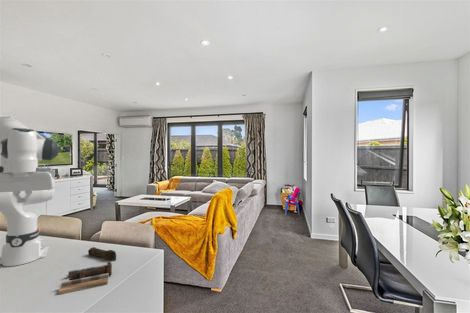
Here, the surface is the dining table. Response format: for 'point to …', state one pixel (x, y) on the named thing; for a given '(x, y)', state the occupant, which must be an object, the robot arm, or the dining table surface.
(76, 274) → the bolt
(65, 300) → the dining table surface
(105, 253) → the carved wooden phallus
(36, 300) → the dining table surface
